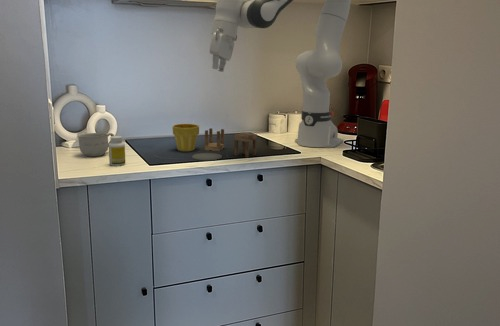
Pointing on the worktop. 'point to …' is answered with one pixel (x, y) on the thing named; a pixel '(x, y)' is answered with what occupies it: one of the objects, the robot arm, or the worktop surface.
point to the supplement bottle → (116, 151)
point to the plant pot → (186, 136)
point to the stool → (245, 143)
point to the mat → (206, 156)
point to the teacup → (94, 143)
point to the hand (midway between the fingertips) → (217, 70)
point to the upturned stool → (214, 146)
